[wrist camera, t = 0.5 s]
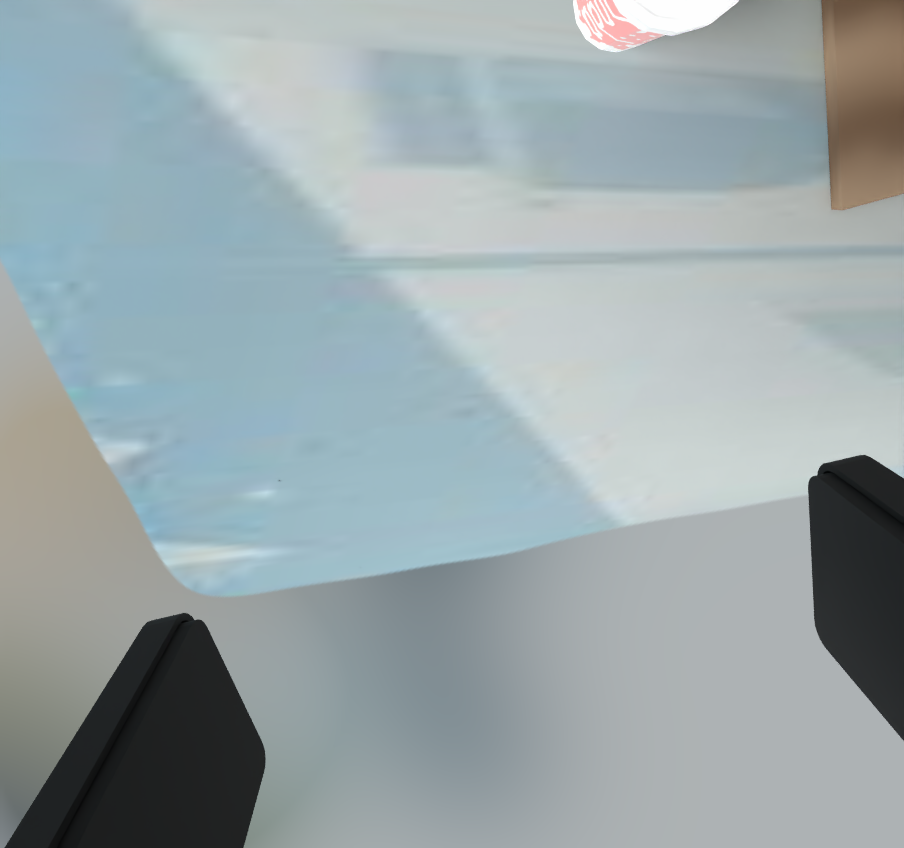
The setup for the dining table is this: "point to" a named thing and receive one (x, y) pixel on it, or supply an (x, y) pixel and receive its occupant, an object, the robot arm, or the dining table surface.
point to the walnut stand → (864, 99)
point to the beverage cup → (642, 19)
